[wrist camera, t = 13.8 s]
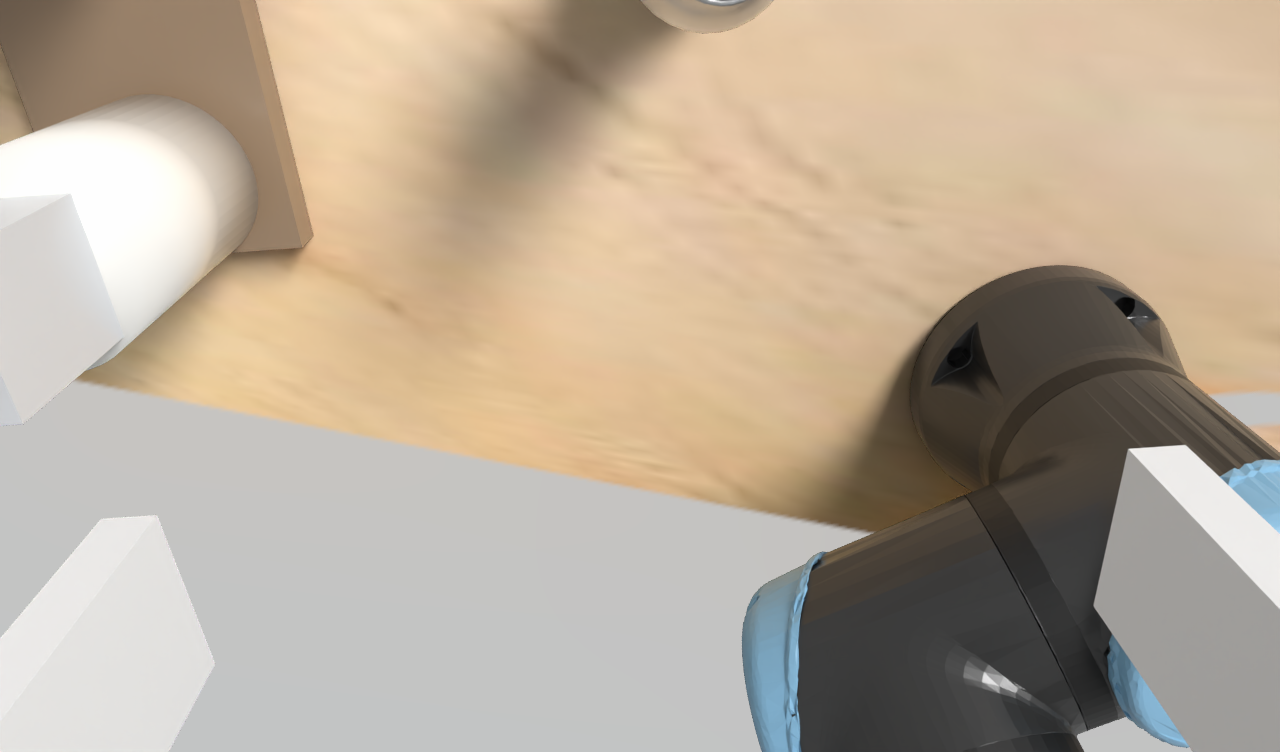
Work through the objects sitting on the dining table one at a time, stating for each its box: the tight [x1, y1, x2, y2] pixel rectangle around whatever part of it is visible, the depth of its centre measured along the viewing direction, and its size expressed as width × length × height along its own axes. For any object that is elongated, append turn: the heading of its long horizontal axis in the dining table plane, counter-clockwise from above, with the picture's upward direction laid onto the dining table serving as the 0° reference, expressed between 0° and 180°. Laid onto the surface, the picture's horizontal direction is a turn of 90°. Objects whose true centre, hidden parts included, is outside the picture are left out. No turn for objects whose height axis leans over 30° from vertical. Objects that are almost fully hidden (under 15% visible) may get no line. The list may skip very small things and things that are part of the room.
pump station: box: [0, 0, 313, 426], centre depth 35 cm, size 25×12×22 cm, turn 4°
